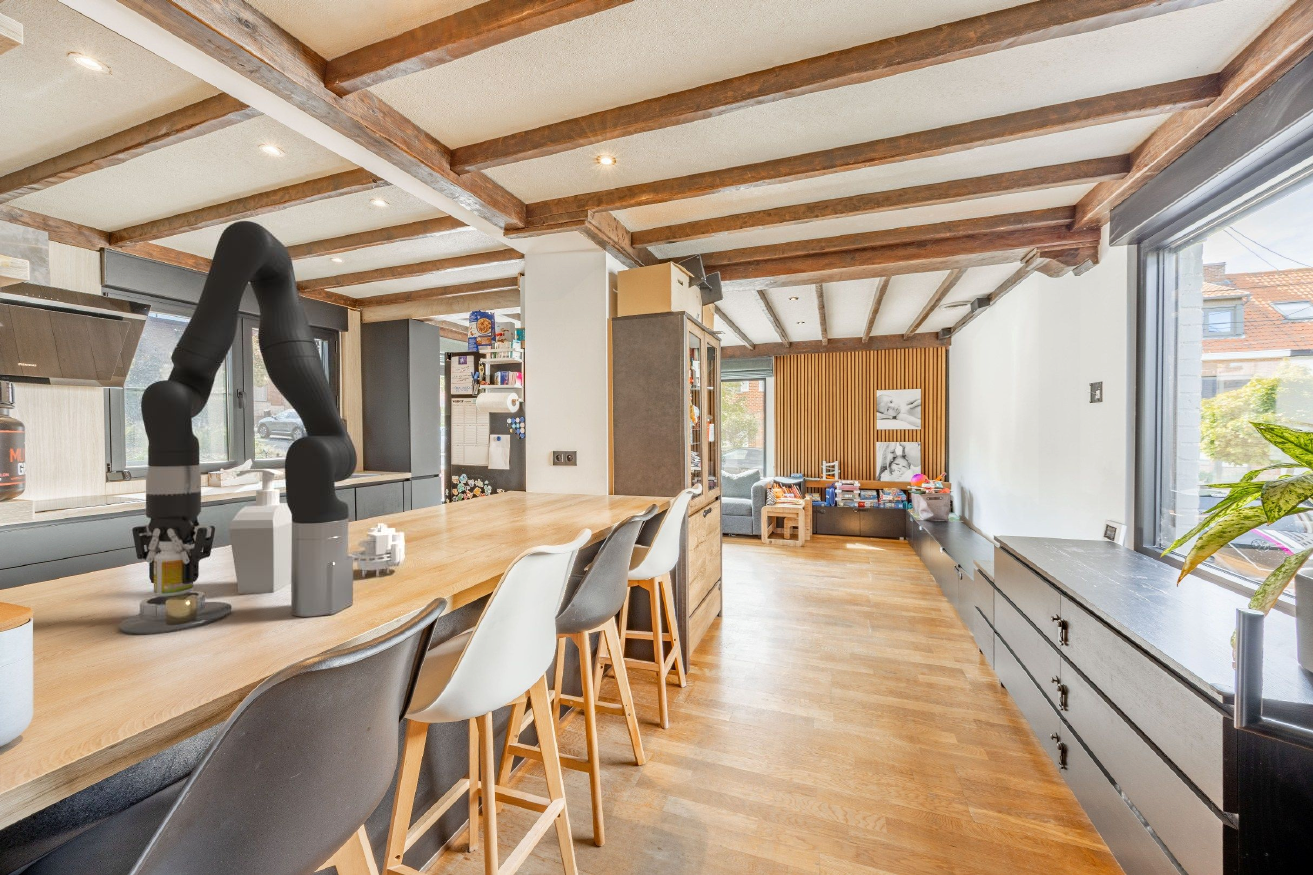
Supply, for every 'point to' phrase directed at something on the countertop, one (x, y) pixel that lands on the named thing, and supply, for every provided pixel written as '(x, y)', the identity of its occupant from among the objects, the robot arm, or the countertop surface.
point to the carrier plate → (162, 628)
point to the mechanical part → (380, 550)
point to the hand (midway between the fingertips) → (173, 581)
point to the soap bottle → (262, 540)
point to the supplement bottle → (169, 572)
